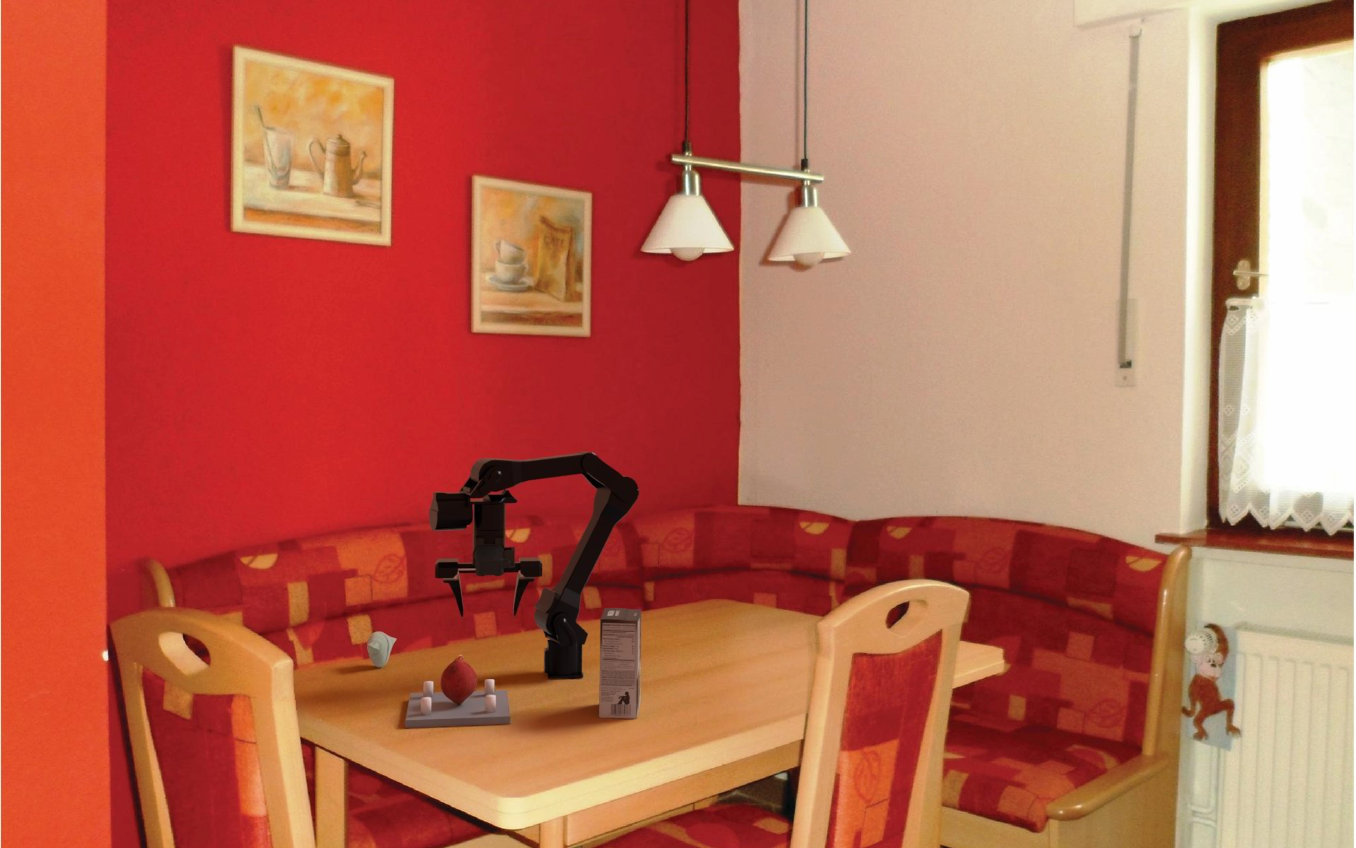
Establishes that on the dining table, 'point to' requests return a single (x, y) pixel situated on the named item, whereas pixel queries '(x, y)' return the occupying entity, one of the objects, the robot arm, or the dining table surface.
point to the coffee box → (620, 663)
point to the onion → (458, 680)
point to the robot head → (379, 648)
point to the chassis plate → (457, 708)
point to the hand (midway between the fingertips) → (488, 616)
